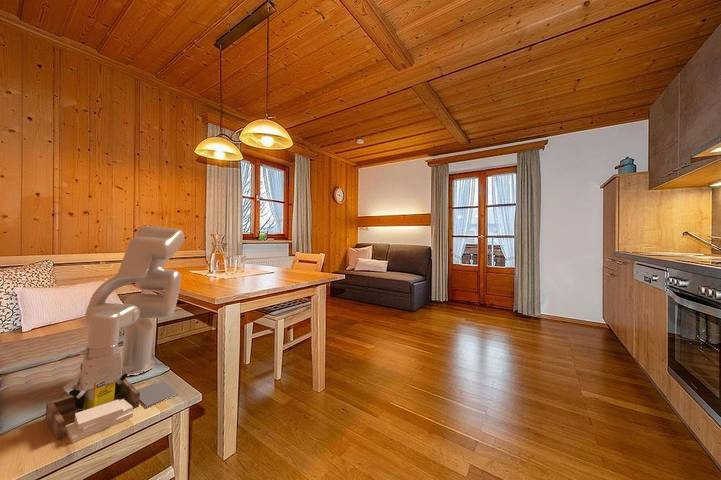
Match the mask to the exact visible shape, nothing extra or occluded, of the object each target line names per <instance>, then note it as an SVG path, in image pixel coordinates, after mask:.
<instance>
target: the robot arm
mask: <svg viewBox="0 0 721 480" xmlns="http://www.w3.org/2000/svg"><path fill="white" fill-rule="evenodd" d="M184 242H185V233H184V232H183V230H182V229H179V228H172V227H164V226H163V227H162V226H157V225H156V226H155V225H141V226H139V227H138V228H137V229H136V232H135V237H133V238H131V239H130V240H129V242H128V245H127V247H126V250H125V252H124V255H123V258H122V260H121V263H120V266H119V268H118V270H117V272H116V274H114V275H113V276H112V277H110V278H109V279H107V280H105V282H103V283H102V284H101V285H100V286H99V287H98V288H97V289H95V291H94V293H92V295H91V297H90V300H89V302H88V305H87V307H86V311H85V313H84V314H85V315H84V320H85V322H86V323H87V324H88V331H87V342H86V343H87V345H86V346H85V347H86V348H84V350H81V351H79V353H80V356H83V357H82V360H81V362H80V367H79V369H78V374H77V375H78V376H76V377H75V378H74V379H72V380H71V381H70V382H68V383H66V384H65V385H64V386H63V387H62V389H63V391H64V392H66V393H67V394H68V395H69V396H71V395H72V396H75V397H76V398H75V406H76V407H77V406H78V408H79V409H78V410H81V409H82V408H83V405H84V396H83V394H84V393H85V391H86V390H90V389H93V388H94V384H96V383H99V382H102V381H105V383H106V384H108V383H111V382H114V381H116V382H115V393H114V398H115V397H118V396H119V395H118V392H119V391H120V384H121V383H122V381H123V380H124V379H126V378H127V377H128V376H127V375H128V374H134V373H140V372H144V371H146V370H149V369H151V368H152V367H153V368H154V366H155V361H154V360H153V359H151V358H152V347H153V336H154V330H155V329H154V327H155V326H154V322H153V321H152V319H169V318H170V317H172V316H173V315H174V313H175V310H176V306H177V303H178V298H179V295H180V293H179V292H180V288H181V284H182V274H181V272H180V271H178V270H176V269H169V268H168V269H167V268H165V265H166V261H168V260H170V259H172V257H173V256H174V255H175V254H176V253H177V251H179V249H180V248H181V247H182V245H183V244H184ZM134 283H135V285H134V286H135V287H136V288H137V289H138V290H141V291H151V292H163V293H164V294H156V293H155V294H154V293H134V294H131V295H129V296H128V297H126V298H125V300H124V301H123V303H111V302H110V303H108V302H107V300H108V298H109V296H110V295H111V294H112V293H113V292H115V291H116V290H118V289H120V288H123V287H124V286H125V287H126V286H128V285H132V284H134ZM121 329H122V330H123V329H124V331H123V340H122V341H123V343H122V350H121V349H120V348H119V339H120V330H121ZM153 368H152V369H153ZM152 369H151V370H152ZM141 370H143V371H141ZM149 371H150V370H149ZM76 385H78V387H77V388H76V389H75V388H73V387H74V386H76Z"/></svg>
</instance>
